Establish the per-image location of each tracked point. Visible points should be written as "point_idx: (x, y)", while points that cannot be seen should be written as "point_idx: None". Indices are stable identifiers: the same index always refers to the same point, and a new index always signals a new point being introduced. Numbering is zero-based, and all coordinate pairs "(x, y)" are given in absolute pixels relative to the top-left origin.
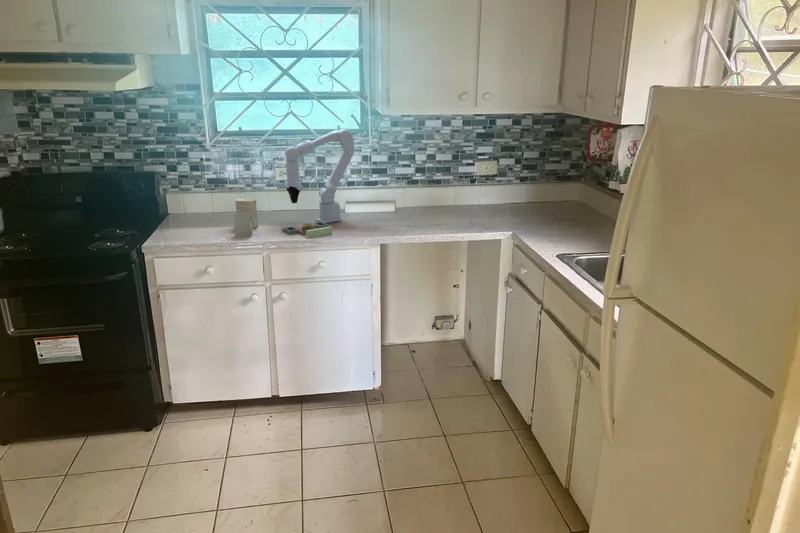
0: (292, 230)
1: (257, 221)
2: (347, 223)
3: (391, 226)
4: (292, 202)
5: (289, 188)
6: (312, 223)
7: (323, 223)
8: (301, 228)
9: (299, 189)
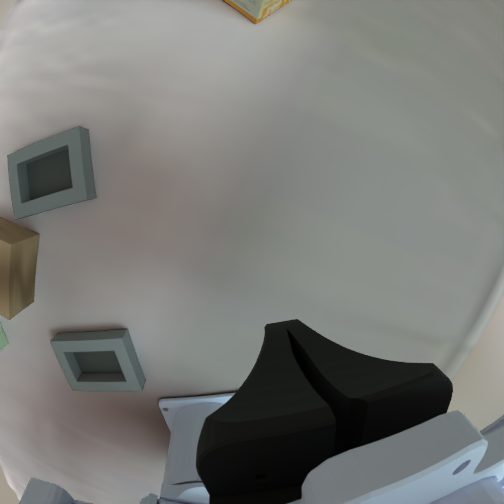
0: (13, 176)
1: (256, 4)
2: (136, 456)
3: (79, 496)
4: (275, 324)
5: (327, 441)
6: (4, 305)
7: (97, 382)
8: (23, 236)
9: (31, 490)
